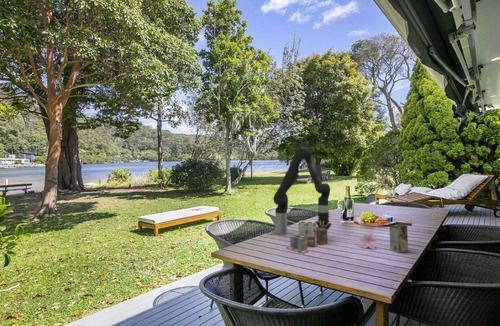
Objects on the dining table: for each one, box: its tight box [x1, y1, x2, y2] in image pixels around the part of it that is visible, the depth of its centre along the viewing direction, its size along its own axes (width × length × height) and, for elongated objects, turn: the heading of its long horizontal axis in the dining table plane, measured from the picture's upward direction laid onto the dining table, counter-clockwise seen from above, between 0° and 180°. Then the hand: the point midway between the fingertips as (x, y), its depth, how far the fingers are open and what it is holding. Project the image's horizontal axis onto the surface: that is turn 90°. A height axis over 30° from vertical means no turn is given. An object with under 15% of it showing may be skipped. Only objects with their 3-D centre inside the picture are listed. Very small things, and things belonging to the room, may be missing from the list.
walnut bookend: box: [316, 226, 328, 246], centre depth 199 cm, size 12×6×10 cm, turn 38°
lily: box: [357, 231, 379, 251], centre depth 189 cm, size 12×12×10 cm
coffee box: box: [389, 223, 409, 254], centre depth 181 cm, size 9×6×16 cm
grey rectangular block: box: [285, 233, 310, 255], centre depth 193 cm, size 15×27×10 cm, turn 128°
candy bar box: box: [298, 220, 318, 248], centre depth 193 cm, size 11×5×16 cm, turn 59°
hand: (323, 235), depth 203 cm, fingers closed
